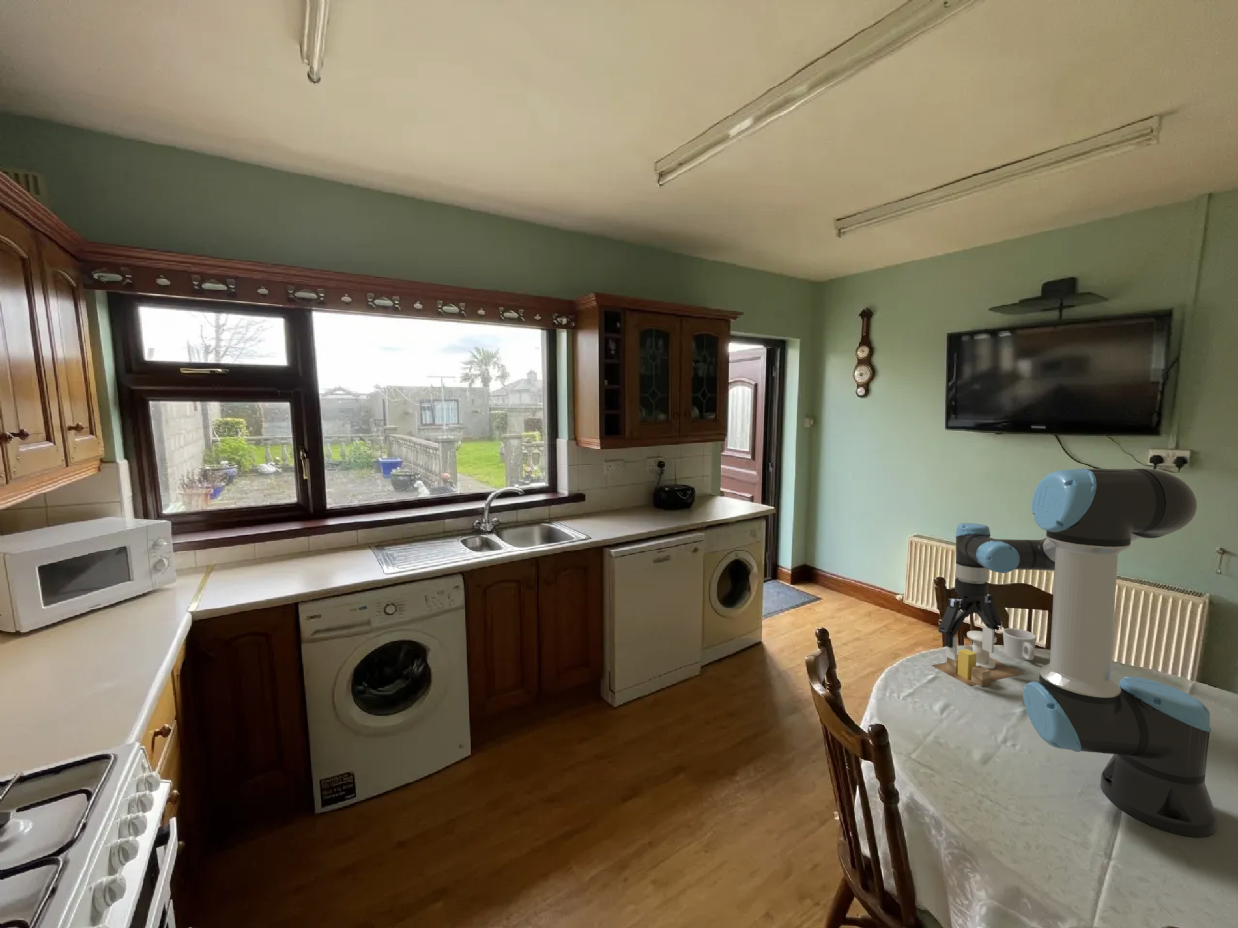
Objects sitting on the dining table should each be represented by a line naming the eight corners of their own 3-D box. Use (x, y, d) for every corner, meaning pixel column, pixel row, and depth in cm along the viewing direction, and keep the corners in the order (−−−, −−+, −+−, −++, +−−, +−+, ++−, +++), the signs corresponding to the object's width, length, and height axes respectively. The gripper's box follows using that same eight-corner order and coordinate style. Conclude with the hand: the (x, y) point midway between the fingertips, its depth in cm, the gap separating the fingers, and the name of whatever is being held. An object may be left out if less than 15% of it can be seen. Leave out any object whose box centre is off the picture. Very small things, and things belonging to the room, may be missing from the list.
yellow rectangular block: (975, 677, 141) (976, 653, 140) (967, 679, 140) (968, 655, 140) (965, 672, 144) (966, 648, 143) (957, 673, 143) (958, 650, 142)
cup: (1047, 670, 146) (1048, 644, 145) (1016, 668, 147) (1017, 642, 147) (1025, 653, 156) (1026, 628, 156) (996, 651, 158) (997, 627, 157)
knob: (1001, 667, 146) (1002, 638, 145) (983, 671, 144) (984, 642, 143) (977, 656, 153) (979, 629, 152) (960, 660, 151) (961, 632, 150)
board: (1028, 679, 141) (1029, 661, 141) (974, 692, 136) (975, 674, 135) (982, 658, 154) (983, 641, 154) (931, 669, 148) (931, 652, 148)
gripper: (991, 571, 146) (989, 642, 148) (924, 580, 139) (923, 655, 140) (1018, 578, 139) (1016, 653, 140) (949, 588, 132) (947, 667, 133)
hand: (969, 654), depth 140 cm, fingers open, 13 cm apart
